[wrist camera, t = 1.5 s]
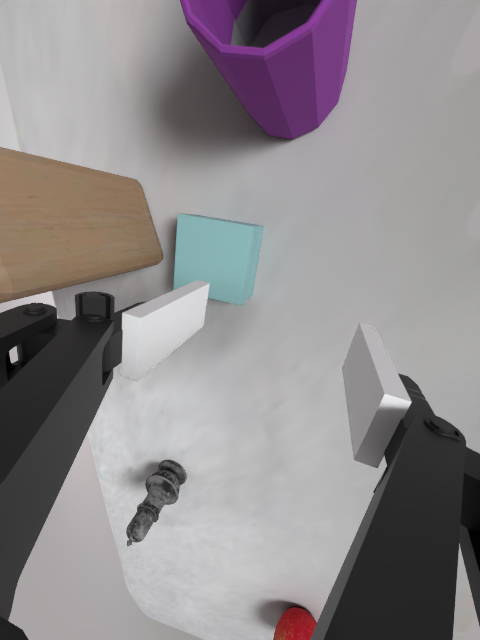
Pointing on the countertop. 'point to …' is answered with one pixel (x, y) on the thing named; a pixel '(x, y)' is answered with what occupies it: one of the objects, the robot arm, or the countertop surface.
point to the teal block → (217, 256)
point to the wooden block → (68, 225)
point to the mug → (278, 56)
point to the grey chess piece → (156, 498)
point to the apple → (295, 625)
